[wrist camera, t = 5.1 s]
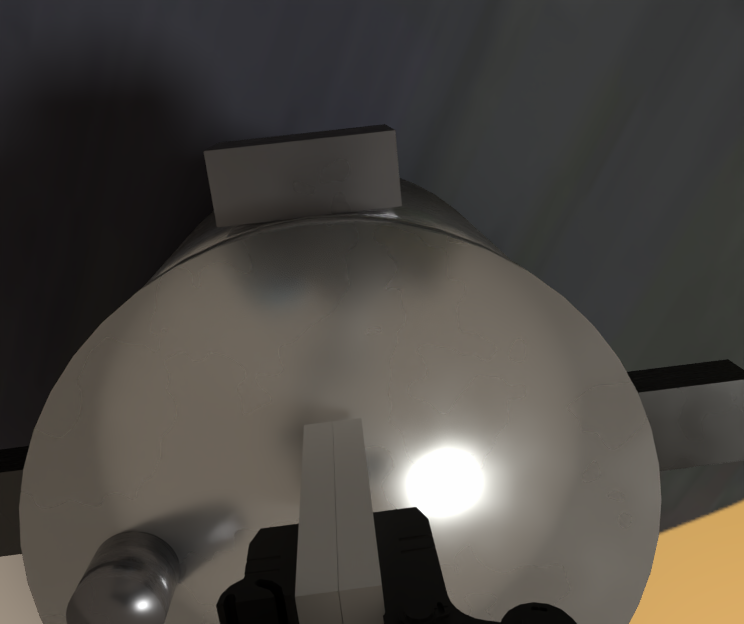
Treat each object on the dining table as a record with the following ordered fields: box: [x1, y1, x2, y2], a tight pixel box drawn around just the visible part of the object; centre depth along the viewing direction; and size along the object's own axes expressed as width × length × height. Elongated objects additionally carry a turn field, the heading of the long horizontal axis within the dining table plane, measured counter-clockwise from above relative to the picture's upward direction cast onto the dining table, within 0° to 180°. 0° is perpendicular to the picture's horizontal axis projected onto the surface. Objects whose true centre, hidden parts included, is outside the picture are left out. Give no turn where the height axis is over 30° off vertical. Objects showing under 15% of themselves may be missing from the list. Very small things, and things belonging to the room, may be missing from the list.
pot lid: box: [19, 217, 661, 624], centre depth 19 cm, size 22×18×3 cm
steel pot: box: [0, 124, 744, 557], centre depth 26 cm, size 19×27×12 cm
